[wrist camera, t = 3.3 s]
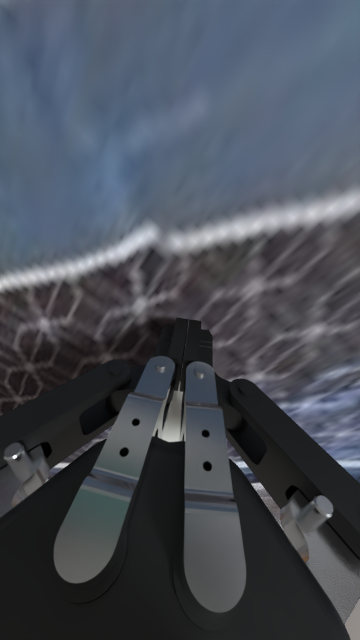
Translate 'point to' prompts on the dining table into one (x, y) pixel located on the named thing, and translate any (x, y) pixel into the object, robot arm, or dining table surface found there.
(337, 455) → the dining table surface
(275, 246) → the dining table surface
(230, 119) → the dining table surface
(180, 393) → the white ball
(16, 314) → the dining table surface
